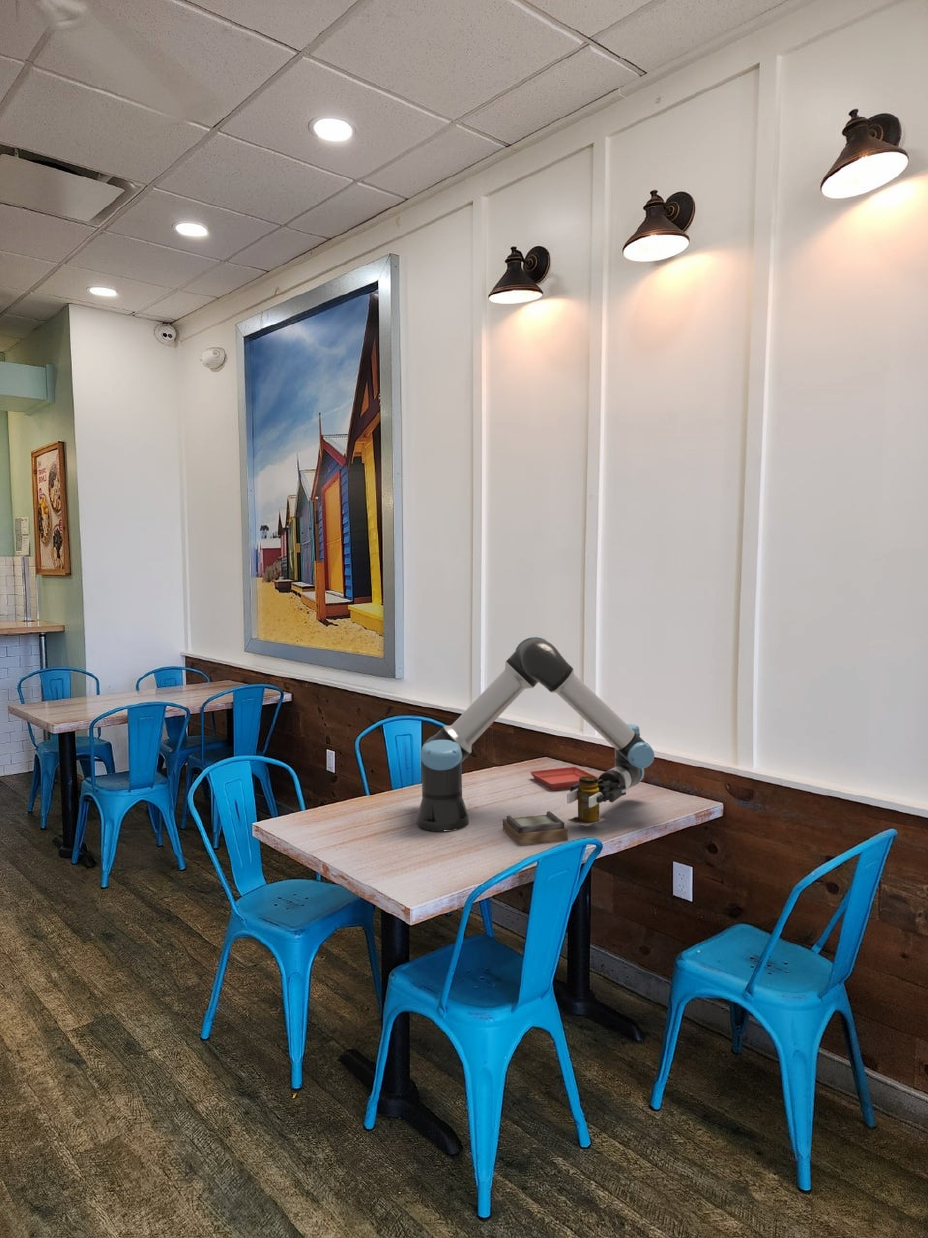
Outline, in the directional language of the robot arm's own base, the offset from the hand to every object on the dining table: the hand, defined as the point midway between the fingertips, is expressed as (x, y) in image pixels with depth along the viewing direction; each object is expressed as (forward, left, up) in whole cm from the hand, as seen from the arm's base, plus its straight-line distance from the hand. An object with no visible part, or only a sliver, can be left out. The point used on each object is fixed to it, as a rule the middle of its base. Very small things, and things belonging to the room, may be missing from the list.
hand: (579, 800), depth 223 cm
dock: (-12, +3, -9) cm, 16 cm away
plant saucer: (+16, +50, -10) cm, 54 cm away
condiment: (+4, +3, -7) cm, 9 cm away
